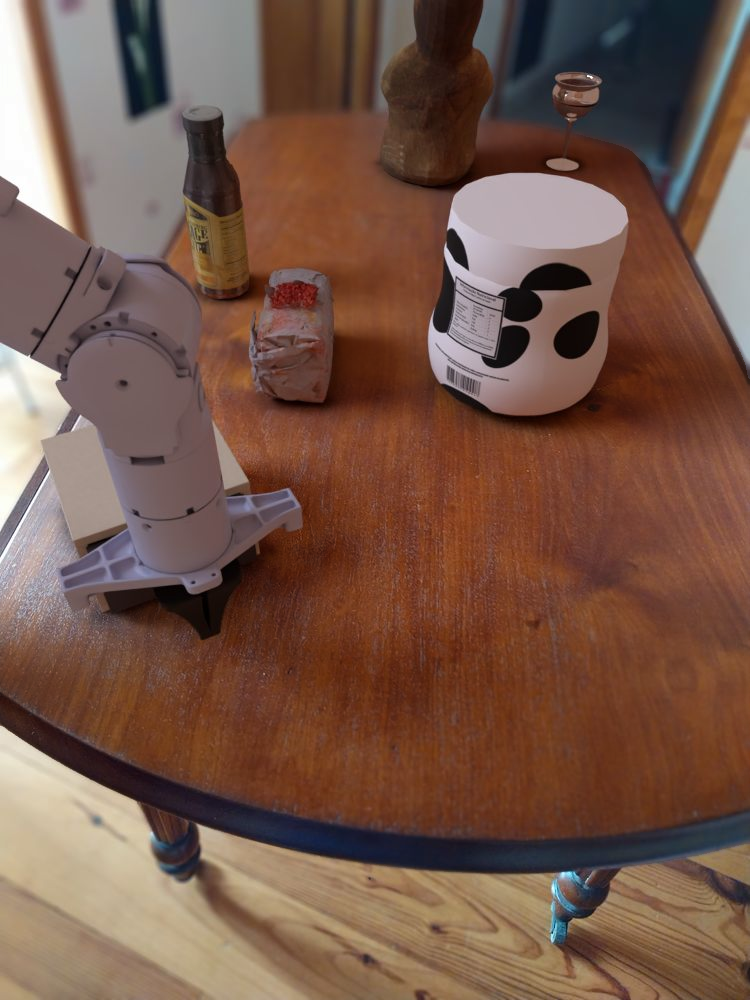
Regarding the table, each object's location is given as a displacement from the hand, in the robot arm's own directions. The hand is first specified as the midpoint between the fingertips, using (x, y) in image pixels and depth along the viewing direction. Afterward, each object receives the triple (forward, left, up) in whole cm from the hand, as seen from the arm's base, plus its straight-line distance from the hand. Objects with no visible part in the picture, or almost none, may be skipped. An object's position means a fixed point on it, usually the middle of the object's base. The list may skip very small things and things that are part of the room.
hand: (206, 626), depth 51 cm
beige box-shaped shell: (-10, +8, -3) cm, 13 cm away
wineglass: (-4, +98, -3) cm, 98 cm away
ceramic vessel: (-20, +84, -3) cm, 87 cm away
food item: (-12, +32, -3) cm, 35 cm away
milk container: (+8, +41, -3) cm, 42 cm away
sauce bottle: (-28, +42, -3) cm, 51 cm away
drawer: (-7, +5, -2) cm, 10 cm away
